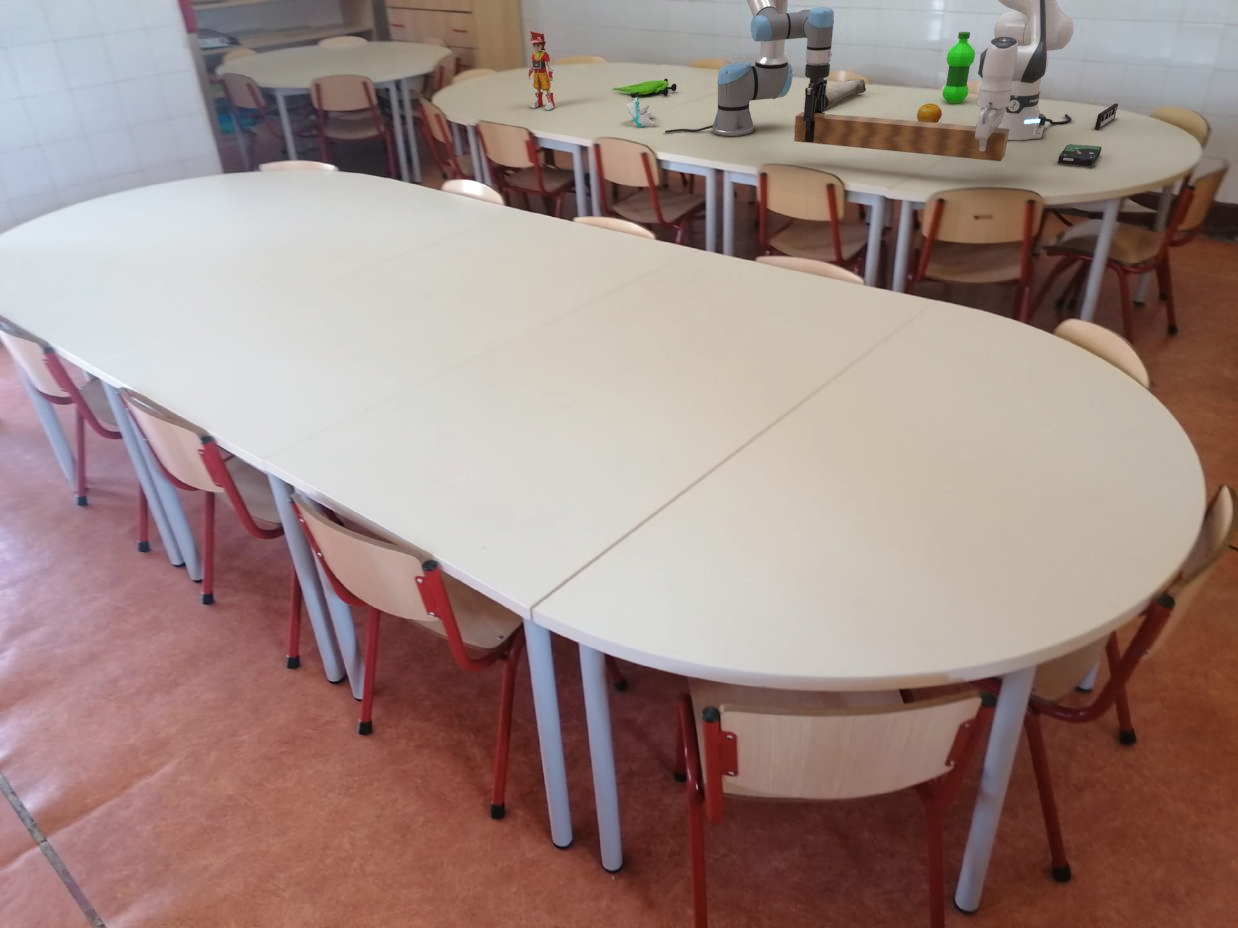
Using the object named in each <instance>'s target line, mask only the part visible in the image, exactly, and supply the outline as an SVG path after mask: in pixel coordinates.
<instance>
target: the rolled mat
mask: <svg viewBox="0 0 1238 928" xmlns="http://www.w3.org/2000/svg"><path fill="white" fill-rule="evenodd" d="M866 91H867V88H866V82H865V80H864V79H862V78H853V79H849V80H845V81H842V82H839V83H836V84H835V85H830V86H826V98H825V110H827V109H828V108H830V107H831V106H832V105H834V104H836V103H837V102H838V101H840V100H842V99H843V98H845V97H847V96H849V95H860V94H863V93H865V92H866Z"/></svg>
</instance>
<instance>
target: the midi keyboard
mask: <svg viewBox="0 0 1238 928" xmlns="http://www.w3.org/2000/svg"><path fill="white" fill-rule="evenodd" d="M1118 106H1119V103H1114V104H1112V105H1110V106H1109V107H1107V108H1106V109H1104V110H1103V111H1101V112H1099V113H1098V114H1097V116H1096V120H1095V121H1096V122H1095V126H1094V130H1100V129H1101V128H1102V127H1103V126H1104V125H1106V124H1108V123H1109V122H1111V121H1112V120H1113V119H1115V118H1116V115H1117V111H1118Z"/></svg>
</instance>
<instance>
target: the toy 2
mask: <svg viewBox="0 0 1238 928" xmlns="http://www.w3.org/2000/svg"><path fill="white" fill-rule="evenodd" d="M669 85H670V83H669V79H668V78H664V79H663V80H649V81H644V82H640V83H634V84H629V85H627V86H621V87H613V88H612V89H613V90H616V91H619V92H623V93H627V94H628V93H629V94H631V95H630V96H631V98H632V99H635V98H636V96H637V95H650V94H652V93H654V94H658V93H662V95H663V96H665V97H667V96H668V95H669V90H671V91H672V92H676V91H677V84H676V83H672V84H671V86H669Z"/></svg>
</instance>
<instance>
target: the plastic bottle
mask: <svg viewBox="0 0 1238 928" xmlns="http://www.w3.org/2000/svg"><path fill="white" fill-rule="evenodd" d="M970 36H971V32H970V31H959V32H958V36H957V39H958V42H957V43H956V44H954V45H953V46H952V47H951V48H950V49H949V50H948V52H947V54H946V63H947V64H948V69H947V70H948V71H947V76H946V77H947V78H946V84H945V85H944V87H943V90H942V97H943V99H944V100H945V101H946V102H947V103H948V104H960V103H961V102H963V101H964V100H966V98H967V96H968V95H969V85H968V79H969V73H970V67H971V65H972V64H973V63H974V61H975V57H976V51H975V49H974V47H972V45H971V44H970V43H969V42H968V41H969V39H970V38H971V37H970Z"/></svg>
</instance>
